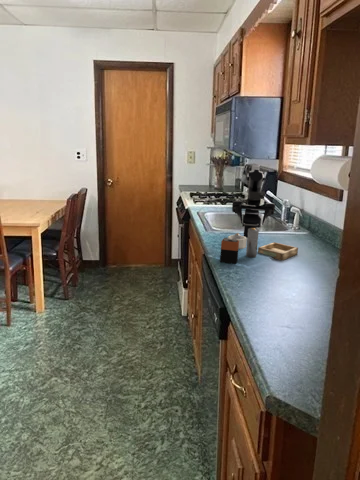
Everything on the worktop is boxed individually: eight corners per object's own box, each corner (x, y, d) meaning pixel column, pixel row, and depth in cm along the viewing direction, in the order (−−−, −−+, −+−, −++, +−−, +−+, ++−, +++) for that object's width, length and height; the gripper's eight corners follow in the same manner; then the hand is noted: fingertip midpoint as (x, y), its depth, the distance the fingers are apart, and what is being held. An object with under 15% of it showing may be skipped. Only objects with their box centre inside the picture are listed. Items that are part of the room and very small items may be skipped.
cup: (234, 244, 194) (235, 234, 193) (248, 248, 189) (249, 237, 188) (224, 247, 188) (225, 237, 187) (238, 251, 183) (239, 240, 182)
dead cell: (236, 244, 190) (237, 232, 189) (241, 246, 188) (242, 233, 187) (232, 245, 188) (233, 233, 187) (237, 247, 186) (238, 234, 185)
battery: (236, 264, 165) (238, 240, 162) (219, 262, 166) (221, 239, 164) (237, 261, 169) (239, 238, 166) (221, 259, 170) (222, 236, 168)
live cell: (249, 255, 177) (252, 226, 174) (258, 257, 175) (260, 228, 171) (243, 257, 174) (246, 228, 171) (252, 260, 171) (255, 230, 168)
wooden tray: (273, 248, 190) (274, 242, 189) (297, 254, 182) (298, 247, 182) (257, 254, 180) (258, 247, 179) (281, 260, 172) (282, 253, 171)
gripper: (234, 182, 180) (231, 212, 173) (277, 185, 178) (275, 215, 170) (233, 197, 190) (230, 225, 183) (274, 199, 187) (272, 229, 180)
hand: (252, 223), depth 179 cm, fingers open, 9 cm apart
